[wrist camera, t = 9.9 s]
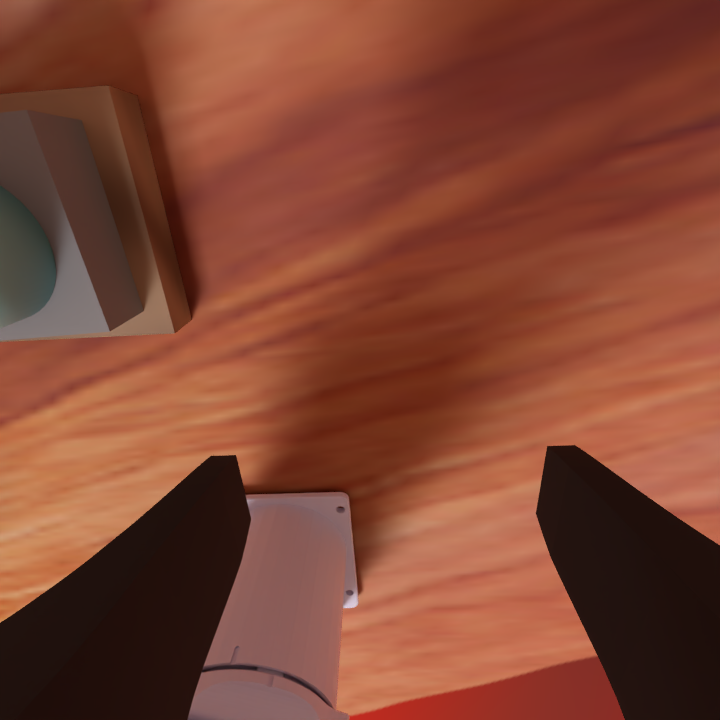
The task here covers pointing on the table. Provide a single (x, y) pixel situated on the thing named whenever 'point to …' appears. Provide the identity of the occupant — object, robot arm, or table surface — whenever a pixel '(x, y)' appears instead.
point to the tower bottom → (123, 198)
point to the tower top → (67, 226)
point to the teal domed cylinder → (23, 262)
